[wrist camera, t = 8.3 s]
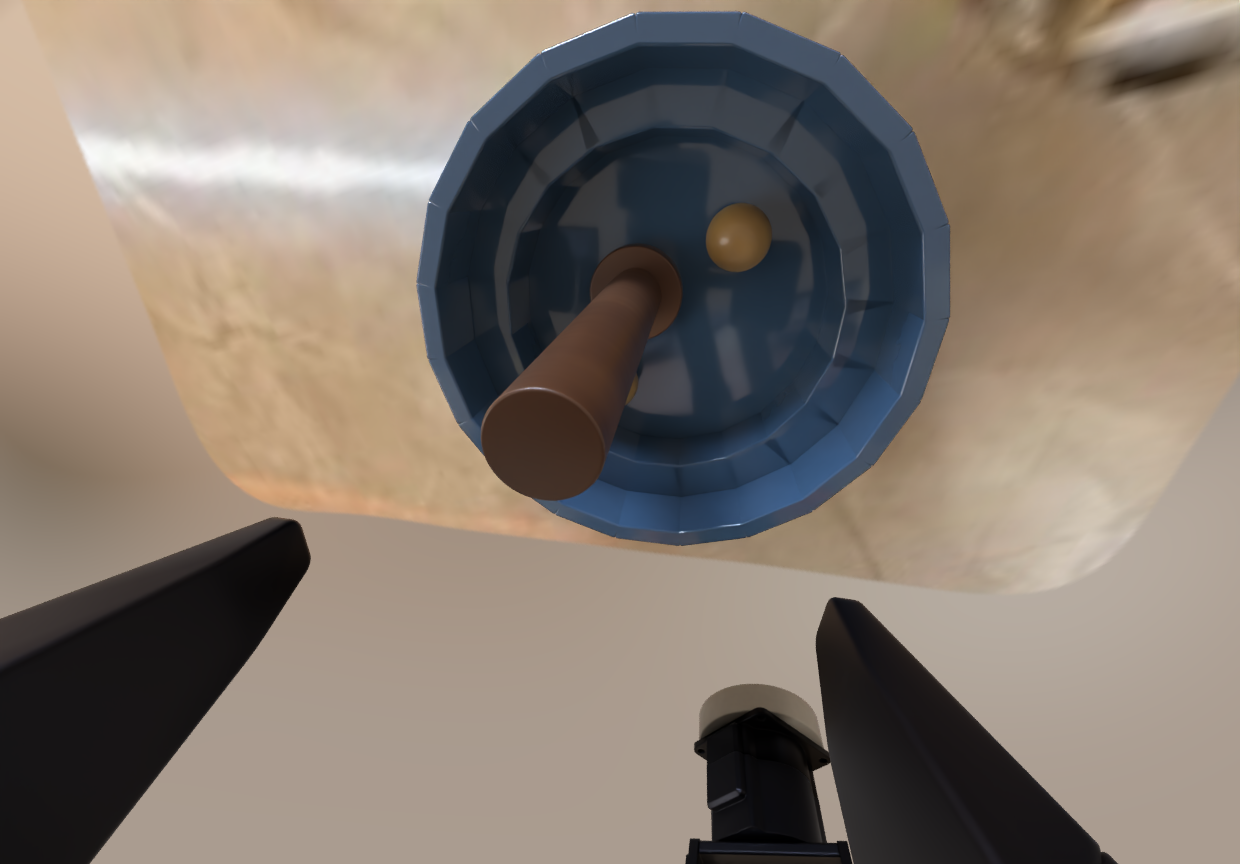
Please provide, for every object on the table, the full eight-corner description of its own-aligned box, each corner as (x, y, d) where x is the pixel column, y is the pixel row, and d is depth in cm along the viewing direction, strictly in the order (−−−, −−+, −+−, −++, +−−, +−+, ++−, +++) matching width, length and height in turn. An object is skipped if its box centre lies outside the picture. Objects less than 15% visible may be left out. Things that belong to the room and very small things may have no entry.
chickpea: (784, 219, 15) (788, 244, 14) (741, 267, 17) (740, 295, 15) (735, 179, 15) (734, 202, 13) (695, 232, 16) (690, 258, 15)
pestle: (700, 300, 17) (703, 476, 6) (630, 352, 18) (536, 570, 8) (646, 222, 16) (549, 281, 6) (575, 282, 17) (386, 422, 7)
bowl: (976, 275, 16) (1084, 307, 11) (688, 524, 22) (685, 608, 18) (645, -60, 13) (618, -184, 9) (424, 326, 20) (344, 366, 15)
